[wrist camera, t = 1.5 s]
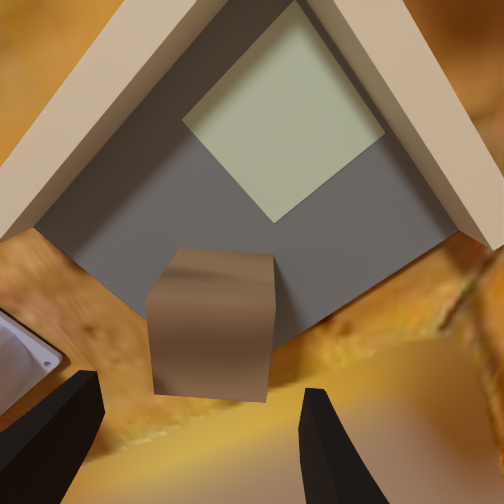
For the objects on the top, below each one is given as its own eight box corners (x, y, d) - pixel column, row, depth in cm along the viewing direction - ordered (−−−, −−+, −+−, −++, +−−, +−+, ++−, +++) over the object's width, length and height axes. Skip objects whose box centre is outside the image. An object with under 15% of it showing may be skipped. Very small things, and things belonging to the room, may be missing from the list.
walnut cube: (265, 330, 18) (265, 402, 14) (182, 324, 18) (154, 394, 14) (272, 254, 16) (275, 309, 12) (178, 248, 16) (145, 299, 12)
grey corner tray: (223, 374, 21) (216, 418, 18) (17, 200, 16) (-39, 220, 13) (480, 205, 15) (531, 227, 12) (277, -123, 11) (281, -212, 8)
